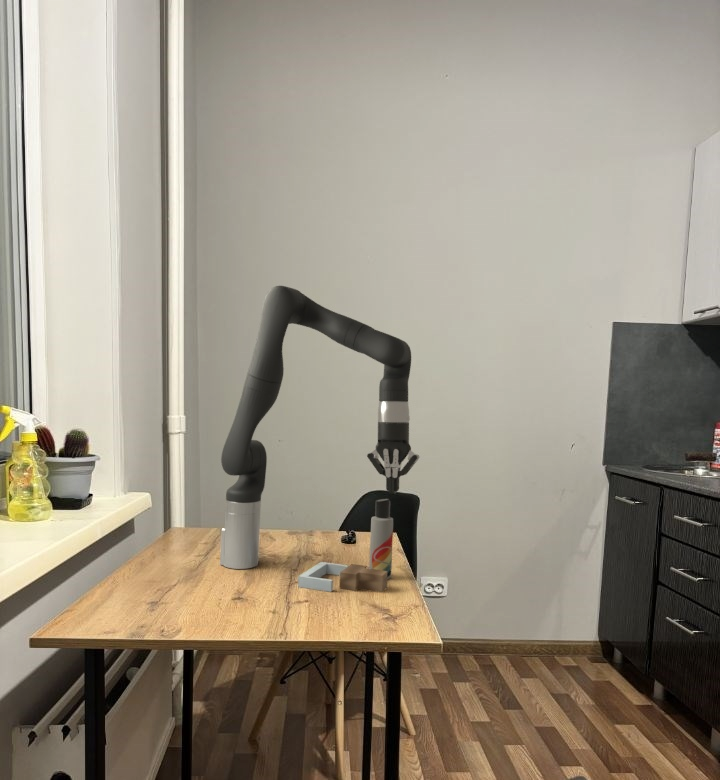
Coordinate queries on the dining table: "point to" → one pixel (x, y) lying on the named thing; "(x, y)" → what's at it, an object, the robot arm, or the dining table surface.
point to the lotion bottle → (381, 537)
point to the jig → (314, 575)
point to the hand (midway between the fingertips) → (392, 493)
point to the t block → (363, 578)
